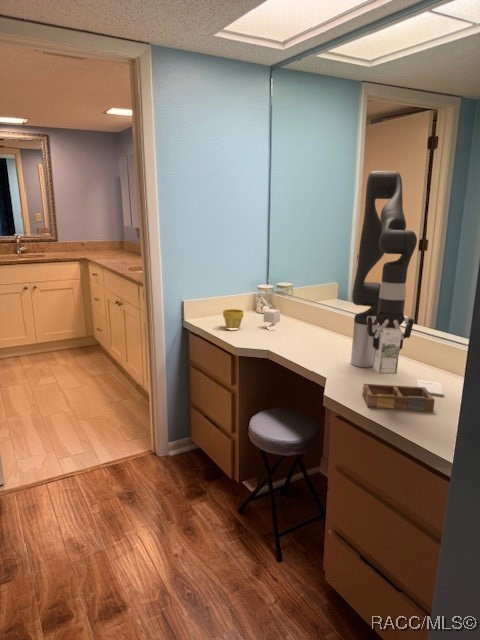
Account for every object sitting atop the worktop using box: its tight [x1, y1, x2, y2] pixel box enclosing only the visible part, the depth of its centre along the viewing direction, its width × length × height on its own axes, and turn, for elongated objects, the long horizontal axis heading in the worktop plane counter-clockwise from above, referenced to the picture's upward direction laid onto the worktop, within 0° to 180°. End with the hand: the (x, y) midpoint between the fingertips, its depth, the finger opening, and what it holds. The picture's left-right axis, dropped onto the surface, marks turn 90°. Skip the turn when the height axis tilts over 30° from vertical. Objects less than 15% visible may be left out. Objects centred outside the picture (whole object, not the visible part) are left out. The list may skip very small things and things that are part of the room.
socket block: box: [362, 383, 436, 413], centre depth 144 cm, size 11×20×4 cm, turn 83°
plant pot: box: [222, 308, 244, 329], centre depth 234 cm, size 10×10×10 cm
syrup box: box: [373, 326, 403, 375], centre depth 141 cm, size 6×6×14 cm
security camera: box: [263, 308, 281, 327], centre depth 236 cm, size 6×7×10 cm
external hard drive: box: [416, 379, 445, 398], centre depth 157 cm, size 2×8×12 cm
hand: (386, 349), depth 141 cm, fingers closed on syrup box, 6 cm apart
